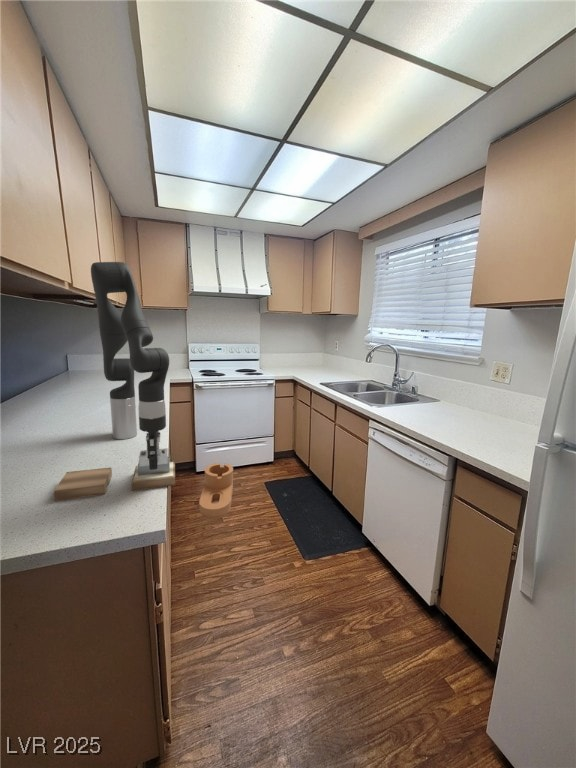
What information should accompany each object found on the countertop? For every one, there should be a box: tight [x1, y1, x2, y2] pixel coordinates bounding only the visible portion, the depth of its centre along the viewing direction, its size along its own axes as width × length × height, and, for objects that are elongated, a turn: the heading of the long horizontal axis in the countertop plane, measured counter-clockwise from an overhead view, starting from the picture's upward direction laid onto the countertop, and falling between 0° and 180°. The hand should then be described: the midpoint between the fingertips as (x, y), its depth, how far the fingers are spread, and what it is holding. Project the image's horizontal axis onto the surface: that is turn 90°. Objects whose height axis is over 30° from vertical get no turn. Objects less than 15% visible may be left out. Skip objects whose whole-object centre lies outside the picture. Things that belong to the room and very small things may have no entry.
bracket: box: [198, 462, 234, 519], centre depth 88 cm, size 18×8×7 cm, turn 6°
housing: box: [137, 447, 171, 476], centre depth 96 cm, size 5×9×6 cm, turn 110°
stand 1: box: [53, 466, 113, 502], centre depth 91 cm, size 11×12×3 cm
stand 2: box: [131, 461, 176, 492], centre depth 97 cm, size 11×12×3 cm
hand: (154, 462), depth 96 cm, fingers open, 8 cm apart
